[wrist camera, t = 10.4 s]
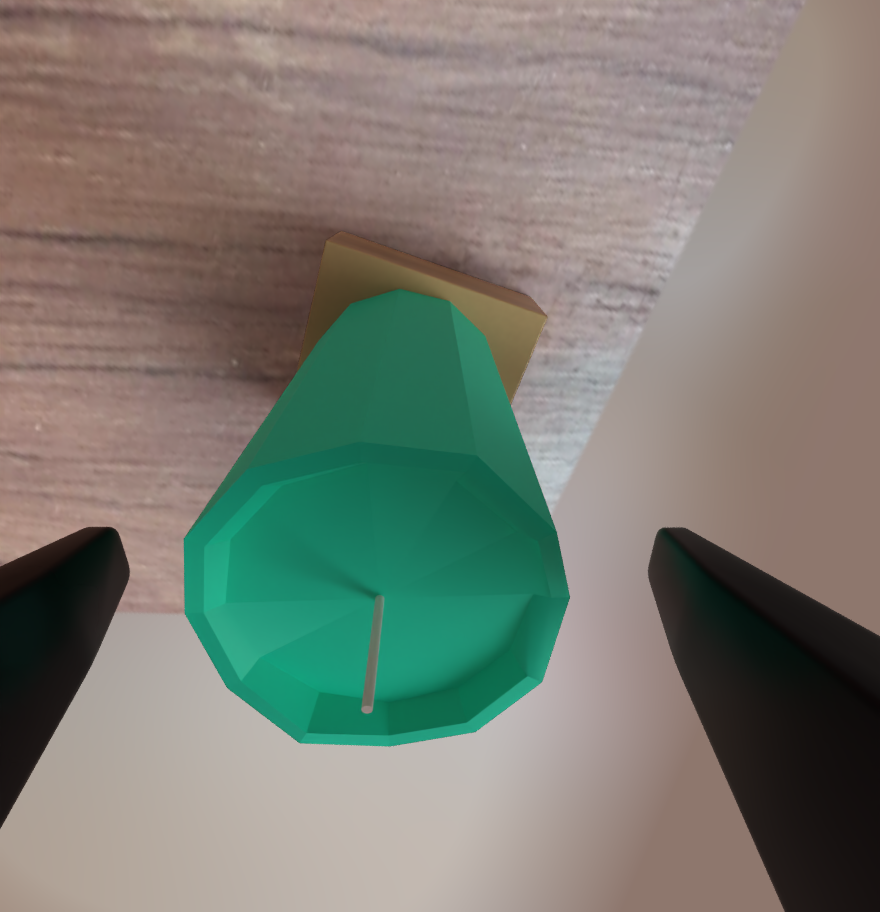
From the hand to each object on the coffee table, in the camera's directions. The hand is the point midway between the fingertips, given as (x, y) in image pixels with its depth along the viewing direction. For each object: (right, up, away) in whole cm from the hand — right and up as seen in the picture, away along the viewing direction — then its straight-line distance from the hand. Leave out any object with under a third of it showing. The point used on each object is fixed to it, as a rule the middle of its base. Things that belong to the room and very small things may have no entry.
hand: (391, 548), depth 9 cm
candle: (0, +4, +9) cm, 9 cm away
